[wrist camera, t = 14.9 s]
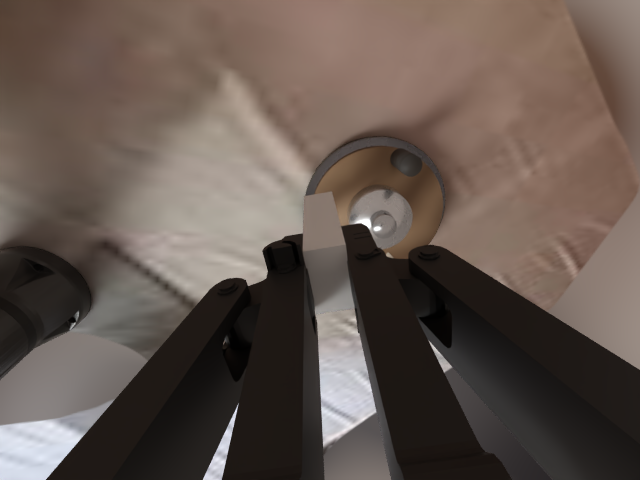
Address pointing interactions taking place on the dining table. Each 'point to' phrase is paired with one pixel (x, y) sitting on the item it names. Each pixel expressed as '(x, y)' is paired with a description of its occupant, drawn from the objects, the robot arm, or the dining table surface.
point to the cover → (381, 214)
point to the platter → (397, 173)
